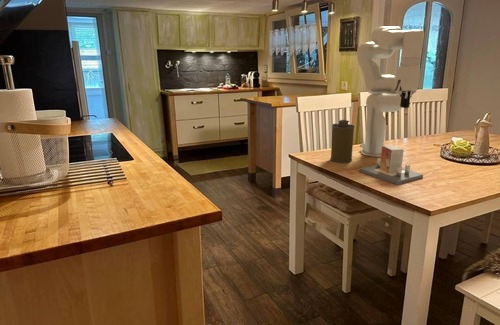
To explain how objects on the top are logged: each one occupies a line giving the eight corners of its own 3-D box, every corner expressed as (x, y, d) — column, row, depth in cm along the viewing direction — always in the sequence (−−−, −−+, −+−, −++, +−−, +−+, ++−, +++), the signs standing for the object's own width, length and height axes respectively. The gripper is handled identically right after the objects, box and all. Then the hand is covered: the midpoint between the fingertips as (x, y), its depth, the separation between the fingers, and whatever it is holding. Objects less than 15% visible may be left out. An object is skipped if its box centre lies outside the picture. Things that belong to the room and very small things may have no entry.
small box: (379, 168, 150) (381, 145, 147) (391, 167, 150) (393, 144, 147) (388, 173, 142) (391, 149, 139) (401, 173, 143) (404, 149, 140)
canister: (356, 160, 168) (359, 120, 162) (343, 164, 162) (346, 123, 156) (338, 155, 176) (340, 117, 171) (325, 159, 170) (327, 120, 164)
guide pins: (371, 168, 151) (372, 159, 149) (382, 165, 154) (383, 157, 153) (399, 177, 139) (400, 168, 137) (410, 174, 142) (411, 165, 140)
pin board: (359, 171, 151) (359, 167, 151) (383, 165, 159) (384, 162, 158) (396, 184, 135) (397, 180, 134) (422, 177, 142) (423, 173, 141)
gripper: (414, 61, 144) (409, 104, 150) (389, 62, 138) (384, 107, 144) (430, 62, 138) (424, 107, 143) (405, 63, 131) (399, 110, 137)
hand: (404, 107), depth 143 cm, fingers closed
